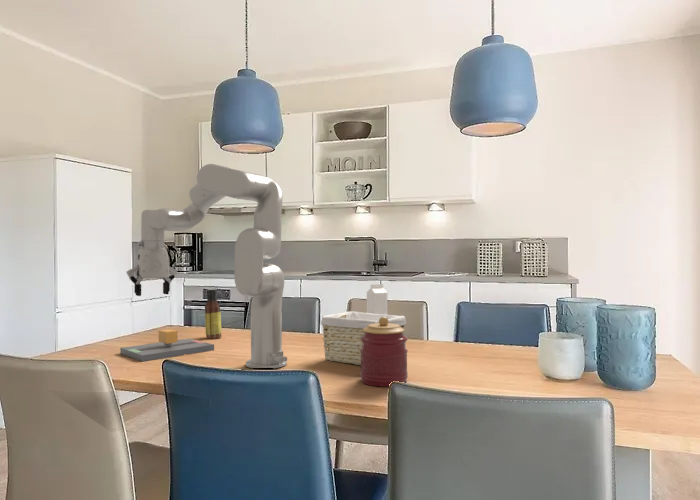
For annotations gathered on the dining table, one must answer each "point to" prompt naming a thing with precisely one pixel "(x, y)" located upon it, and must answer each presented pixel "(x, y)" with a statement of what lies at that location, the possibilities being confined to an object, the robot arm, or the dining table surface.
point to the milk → (377, 299)
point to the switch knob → (168, 336)
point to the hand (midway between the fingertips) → (152, 294)
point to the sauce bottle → (212, 315)
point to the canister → (383, 354)
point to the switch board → (166, 349)
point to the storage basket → (350, 334)
